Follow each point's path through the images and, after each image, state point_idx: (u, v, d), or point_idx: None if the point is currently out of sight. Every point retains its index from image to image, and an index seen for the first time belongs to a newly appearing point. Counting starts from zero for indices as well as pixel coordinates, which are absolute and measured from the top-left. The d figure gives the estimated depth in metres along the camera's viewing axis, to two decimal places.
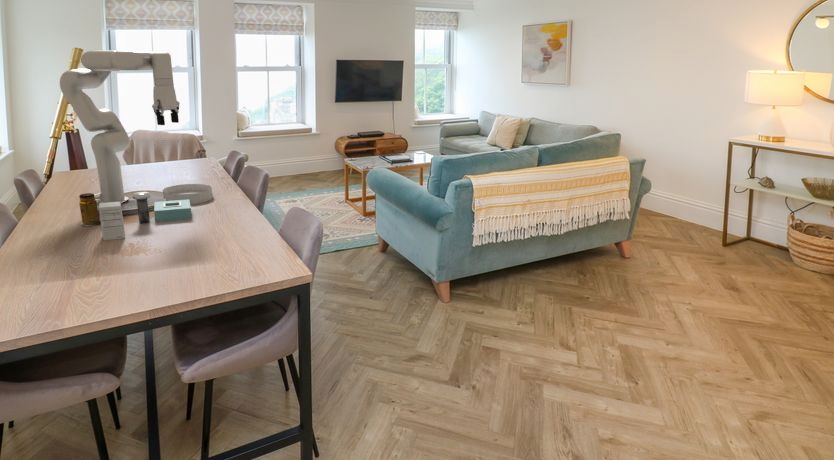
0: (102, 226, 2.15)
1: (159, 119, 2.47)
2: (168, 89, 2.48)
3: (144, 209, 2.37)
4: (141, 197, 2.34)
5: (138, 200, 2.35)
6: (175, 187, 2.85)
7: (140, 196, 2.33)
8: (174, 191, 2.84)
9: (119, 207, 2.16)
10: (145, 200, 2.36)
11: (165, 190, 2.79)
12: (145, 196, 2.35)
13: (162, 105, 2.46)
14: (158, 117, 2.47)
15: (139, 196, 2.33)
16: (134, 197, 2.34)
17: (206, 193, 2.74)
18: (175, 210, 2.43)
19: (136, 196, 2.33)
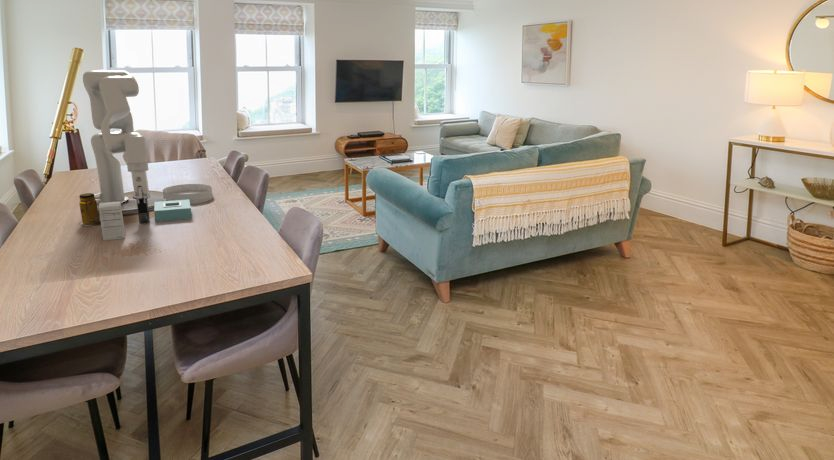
0: (102, 226, 2.15)
1: None
2: None
3: None
4: None
5: None
6: (175, 187, 2.84)
7: None
8: (174, 191, 2.84)
9: (119, 207, 2.16)
10: (145, 200, 2.36)
11: (165, 190, 2.79)
12: (145, 196, 2.35)
13: None
14: None
15: None
16: (134, 197, 2.34)
17: (206, 193, 2.74)
18: (175, 210, 2.43)
19: (136, 196, 2.33)
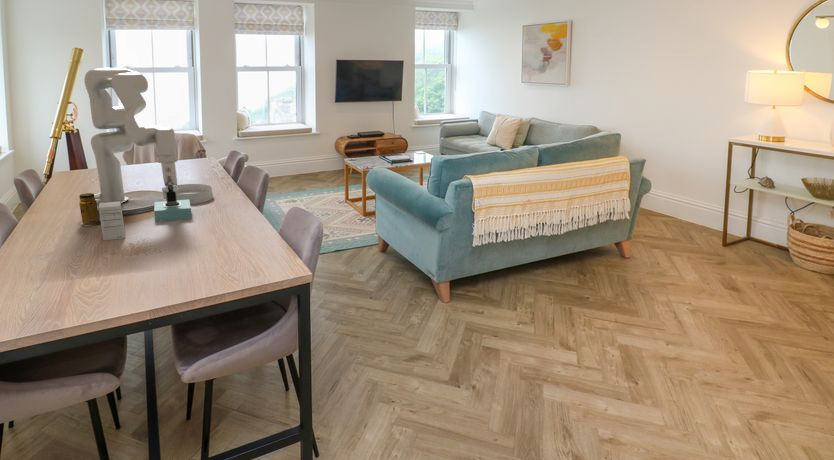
0: (102, 226, 2.15)
1: None
2: None
3: (173, 203, 2.47)
4: None
5: None
6: None
7: None
8: None
9: (119, 207, 2.16)
10: None
11: None
12: (174, 190, 2.45)
13: None
14: None
15: None
16: (164, 191, 2.45)
17: (206, 193, 2.74)
18: (175, 210, 2.43)
19: (166, 190, 2.44)
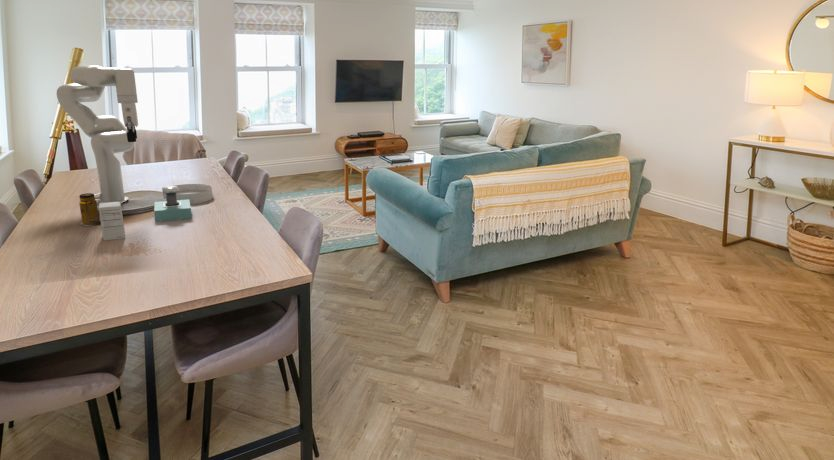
0: (102, 226, 2.15)
1: None
2: None
3: (173, 203, 2.47)
4: (171, 191, 2.45)
5: (167, 194, 2.46)
6: None
7: (170, 190, 2.44)
8: None
9: (119, 207, 2.16)
10: (174, 194, 2.47)
11: None
12: (174, 190, 2.45)
13: None
14: None
15: (169, 190, 2.44)
16: (164, 191, 2.45)
17: (206, 192, 2.74)
18: (175, 210, 2.43)
19: (166, 190, 2.44)
